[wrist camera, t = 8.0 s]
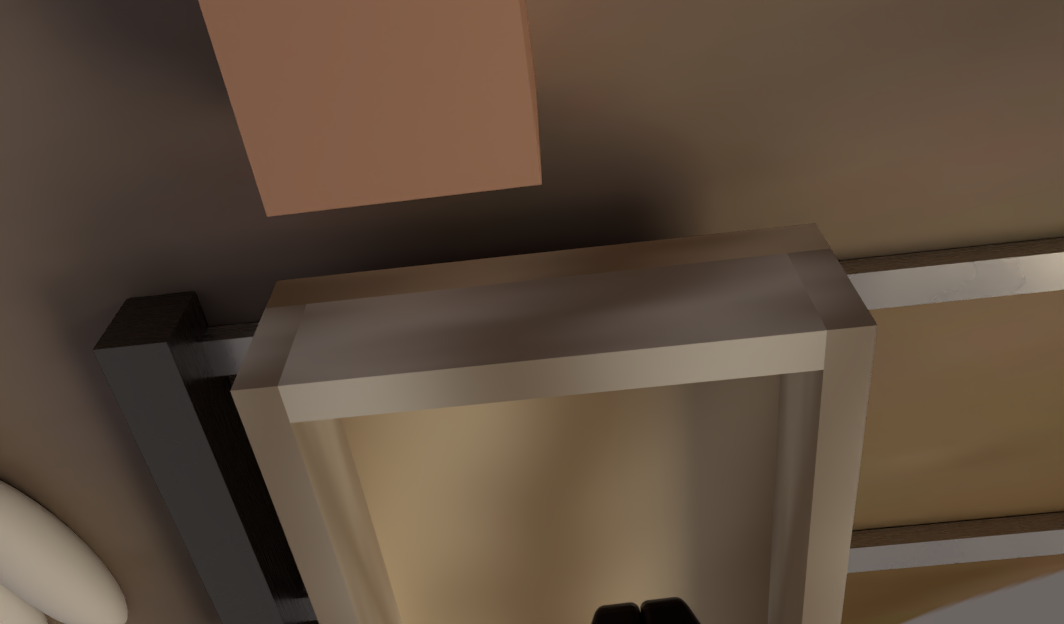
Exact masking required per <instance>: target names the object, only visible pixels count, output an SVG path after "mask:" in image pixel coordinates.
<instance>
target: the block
mask: <svg viewBox="0 0 1064 624" xmlns="http://www.w3.org/2000/svg"><path fill="white" fill-rule="evenodd" d="M198 1H199V5H200V8H201V11H202V14H203V17H204V20H205V23H206V27H207V30H208V33H209V36H210V39H211V42H212V45H213V49H214V52H215V55H216V58H217V61H218V64H219V67H220V70H221V74H222V77H223V80H224V83H225V86H226V89H227V92H228V96H229V99H230V102H231V105H232V108H233V111H234V114H235V118H236V121H237V124H238V127H239V130H240V133H241V136H242V140H243V143H244V146H245V149H246V152H247V155H248V158H249V162H250V165H251V168H252V171H253V174H254V177H255V180H256V184H257V187H258V190H259V193H260V196H261V199H262V202H263V206H264V209H265V212H266V215H267V217H270V216H278V215H287V214H295V213H304V212H312V211H321V210H329V209H338V208H346V207H355V206H363V205H372V204H380V203H389V202H397V201H406V200H414V199H423V198H431V197H440V196H448V195H457V194H465V193H474V192H482V191H491V190H499V189H508V188H516V187H525V186H533V185H542V175H541V159H540V142H539V126H538V110H537V94H536V84H535V76H534V67H533V59H532V51H531V43H530V35H529V26H528V18H527V10H526V2H525V0H198Z"/></svg>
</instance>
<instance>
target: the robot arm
mask: <svg viewBox="0 0 1064 624" xmlns="http://www.w3.org/2000/svg"><path fill="white" fill-rule="evenodd" d="M591 624H701V623H700V622H699V620H698V619H697V617H696V616H695V614H694V613H693V612H692V610H691V609H690V607H689V606H688V605H687V603H686V602H685V601H684V600H682V599H681V598H679V597H669V598H661V599H652V600H646V601H644V602H643V603H642V604H641V606H640V609H639V607H638V605H637V604H635V603H633V602H627V603H619V604H610V605H602V606H600V607H599V608H597V610H596V611H595V613H594V616H593V619H592V622H591Z"/></svg>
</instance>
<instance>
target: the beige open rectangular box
mask: <svg viewBox="0 0 1064 624" xmlns="http://www.w3.org/2000/svg"><path fill="white" fill-rule="evenodd" d="M876 333H877V324H876V322H875V320H874V319H873V317H872V315H871V314H870V312H869V311H868V309H867V307H866V306H865V304H864V302H863V301H862V299H861V297H860V296H859V294H858V292H857V291H856V289H855V288H854V286H853V284H852V283H851V281H850V279H849V278H848V276H847V274H846V273H845V271H844V269H843V268H842V266H841V264H840V263H839V261H838V260H837V258H836V256H835V255H834V253H833V251H832V250H831V248H830V246H829V245H828V243H827V241H826V240H825V238H824V236H823V235H822V233H821V232H820V230H819V228H818V227H817V225H816V223H812V224H802V225H793V226H784V227H774V228H765V229H756V230H746V231H737V232H728V233H718V234H709V235H700V236H690V237H681V238H672V239H662V240H653V241H644V242H634V243H625V244H616V245H606V246H597V247H588V248H578V249H569V250H560V251H550V252H541V253H532V254H522V255H513V256H504V257H495V258H485V259H476V260H467V261H457V262H448V263H439V264H429V265H420V266H411V267H401V268H392V269H383V270H373V271H364V272H355V273H345V274H336V275H327V276H317V277H308V278H299V279H289V280H280V281H277V282H276V284H275V286H274V289H273V291H272V293H271V296H270V298H269V301H268V303H267V305H266V308H265V310H264V312H263V315H262V317H261V319H260V322H259V324H258V327H257V329H256V331H255V334H254V336H253V338H252V341H251V343H250V345H249V348H248V350H247V352H246V355H245V357H244V360H243V362H242V364H241V367H240V369H239V371H238V374H237V376H236V378H235V381H234V383H233V386H232V388H231V390H230V392H231V394H232V397H233V400H234V402H235V405H236V407H237V410H238V413H239V415H240V418H241V421H242V423H243V426H244V428H245V431H246V434H247V436H248V439H249V441H250V444H251V447H252V449H253V452H254V455H255V457H256V460H257V462H258V465H259V468H260V470H261V473H262V476H263V478H264V481H265V483H266V486H267V489H268V491H269V494H270V496H271V499H272V502H273V504H274V507H275V510H276V512H277V515H278V517H279V520H280V523H281V525H282V528H283V530H284V533H285V536H286V538H287V541H288V544H289V546H290V549H291V551H292V554H293V557H294V559H295V562H296V564H297V567H298V570H299V572H300V575H301V578H302V580H303V583H304V585H305V588H306V591H307V593H308V596H309V598H310V601H311V604H312V606H313V609H314V612H315V614H316V617H317V619H318V622H319V624H591V622H592V619H593V616H594V613H595V611H596V610H597V608H599V607H600V606H602V605H610V604H619V603H627V602H633V603H635V604H637V605H638V607H639V609H640V606H641V604H642V603H643V602H644V601H646V600H652V599H661V598H669V597H679V598H681V599H682V600H684V601H685V602H686V603H687V605H688V606H689V607H690V609H691V610H692V612H693V613H694V614H695V616H696V617H697V619H698V620H699V622H700V623H701V624H841V617H842V609H843V601H844V593H845V584H846V576H847V568H848V560H849V552H850V544H851V536H852V528H853V519H854V511H855V503H856V495H857V487H858V479H859V471H860V463H861V454H862V446H863V438H864V430H865V422H866V414H867V406H868V398H869V389H870V381H871V373H872V365H873V357H874V349H875V341H876Z"/></svg>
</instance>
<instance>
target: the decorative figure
mask: <svg viewBox="0 0 1064 624" xmlns="http://www.w3.org/2000/svg"><path fill="white" fill-rule="evenodd" d="M44 613H45V614H46V615H48V616H50V617H52V618H54V619H56V620H58V621H60V622H62V623H65V624H125V623H126V621H127V617H128V609H127V604H126V600H125V597H124V595H123V593H122V591H121V589H120V587H119V585H118V583H117V581H116V580H115V578H114V577H113V575H112V574H111V572H110V571H109V570H108V568H107V567H106V566H105V565H104V563H103V562H102V561H101V560H100V559H99V557H98V556H97V555H96V554H95V553H94V552H93V551H92V550H91V549H90V548H89V546H88V545H87V544H86V543H85V542H84V541H83V540H82V539H81V538H80V537H78V536H77V535H76V534H75V533H74V532H73V531H72V530H71V529H70V528H69V527H68V526H66V525H65V524H64V523H63V522H62V521H60V520H59V519H58V518H57V517H56V516H54V515H53V514H52V513H50V512H49V511H48V510H46V509H45V508H44V507H42V506H41V505H40V504H38V503H37V502H35V501H34V500H32V499H31V498H29V497H28V496H26V495H25V494H23V493H22V492H20V491H19V490H17V489H15V488H14V487H12V486H10V485H8V484H6V483H5V482H3V481H1V480H0V624H48V622H47V619H46V616H45V614H44Z"/></svg>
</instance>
